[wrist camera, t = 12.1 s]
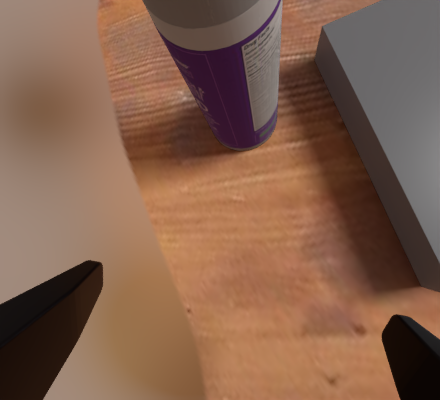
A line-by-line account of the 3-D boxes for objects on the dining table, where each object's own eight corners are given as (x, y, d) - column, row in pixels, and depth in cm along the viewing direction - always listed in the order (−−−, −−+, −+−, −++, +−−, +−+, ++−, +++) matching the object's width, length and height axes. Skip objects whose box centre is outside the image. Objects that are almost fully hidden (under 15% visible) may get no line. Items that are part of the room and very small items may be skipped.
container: (199, 133, 19) (-16, -190, 5) (232, 79, 20) (119, -392, 5) (255, 162, 18) (191, -141, 4) (289, 105, 18) (357, -401, 4)
